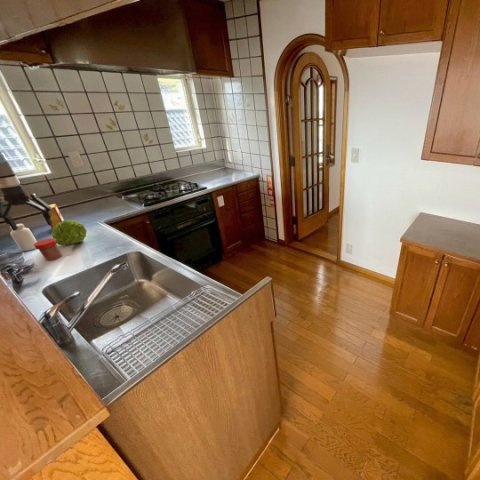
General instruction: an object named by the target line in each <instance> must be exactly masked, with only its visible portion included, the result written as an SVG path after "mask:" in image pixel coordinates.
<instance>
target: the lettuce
mask: <svg viewBox="0 0 480 480" xmlns="http://www.w3.org/2000/svg"><path fill="white" fill-rule="evenodd" d="M87 233H88V231H87V229H86V227H85V224H83V223H81V222H80V221H77V220H73V219H70V220H67V219H64V220H63V221H62V222H60V223H58V224H57V225H55V226H54V227H53V229H52V228H51V238H55V240H56V241H57V244H56V245H57V246H62V247H66V246H69V245H73V244H79V243H80V242H83V241H84V240H85V238H86V237H87Z"/></svg>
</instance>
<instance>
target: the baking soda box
mask: <svg viewBox="0 0 480 480" xmlns="http://www.w3.org/2000/svg"><path fill="white" fill-rule="evenodd" d="M48 205H49V206H50V207H52V210H51V211H49V213H50V215H51V218H50V219H51V221H52V224H51V225H49V227H50V228H51V230H52V229H53V227H54V226H55V225H57V224H58V223H60V222H62V221H63V220H65V219H64V217H63V215H62V212H61V210H60V209H59V207H58V206H57V204H56V203H52V204H48ZM42 213H44V212H42Z"/></svg>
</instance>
